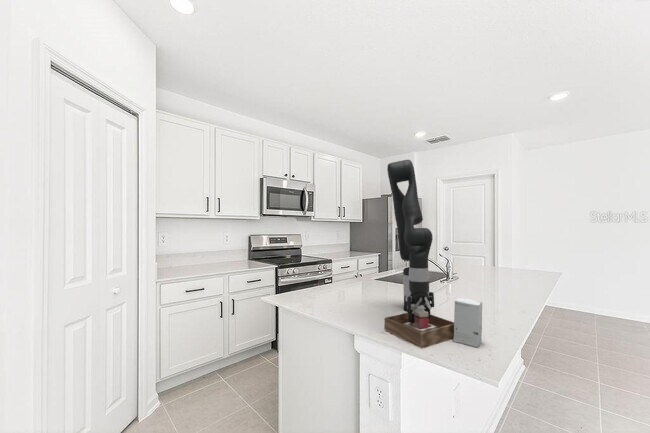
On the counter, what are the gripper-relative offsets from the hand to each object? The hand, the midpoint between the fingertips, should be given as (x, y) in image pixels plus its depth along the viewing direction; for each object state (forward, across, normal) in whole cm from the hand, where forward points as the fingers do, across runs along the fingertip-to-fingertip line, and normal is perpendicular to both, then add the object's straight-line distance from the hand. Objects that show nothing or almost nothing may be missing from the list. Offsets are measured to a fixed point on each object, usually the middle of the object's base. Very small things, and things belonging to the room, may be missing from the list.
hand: (419, 320), depth 110 cm
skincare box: (+5, -9, +14) cm, 18 cm away
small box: (+4, 0, 0) cm, 4 cm away
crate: (+5, 0, 0) cm, 5 cm away
